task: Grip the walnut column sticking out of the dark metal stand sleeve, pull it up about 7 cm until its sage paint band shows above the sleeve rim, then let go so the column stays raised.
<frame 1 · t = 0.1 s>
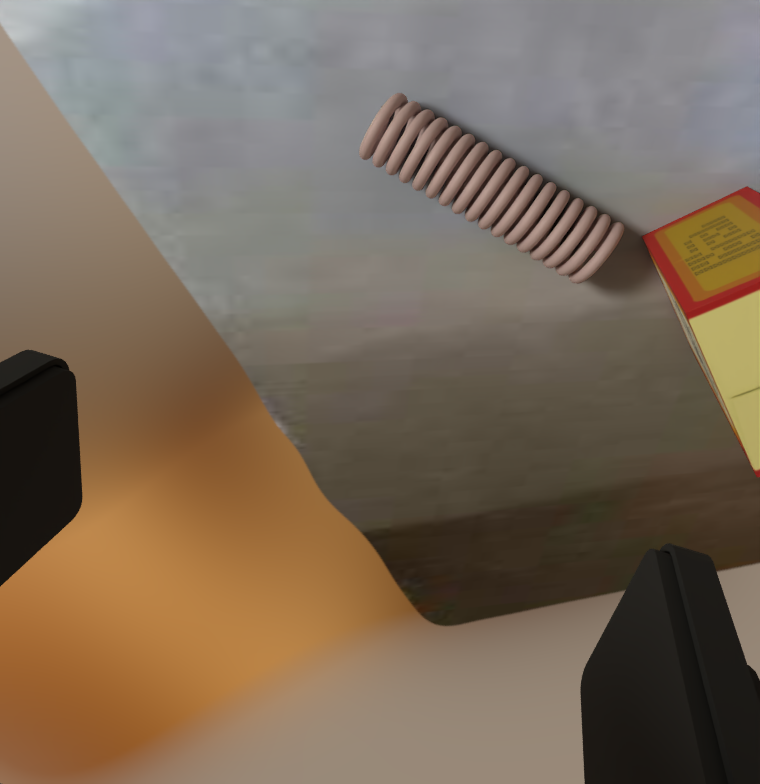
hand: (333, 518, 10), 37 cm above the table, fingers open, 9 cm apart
coil: (492, 184, 43), on the table
baking soda box: (718, 275, 42), on the table
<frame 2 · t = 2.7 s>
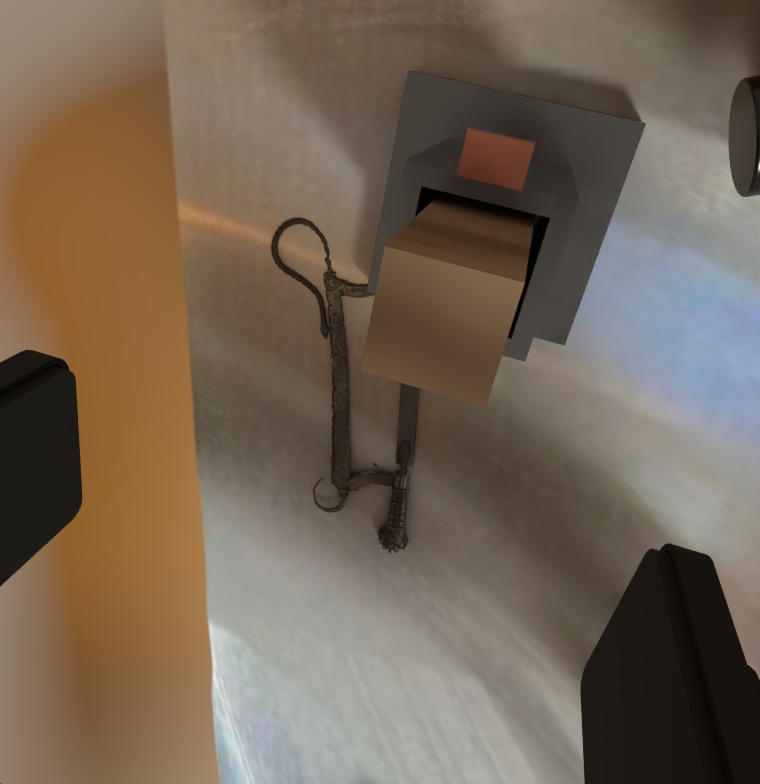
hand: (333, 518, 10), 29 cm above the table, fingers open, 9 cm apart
column: (471, 257, 26), point 11 cm above the table, slide at 0.0 cm
stand sleeve: (493, 211, 35), on the table
hacksaw: (348, 397, 43), on the table, touching stand sleeve
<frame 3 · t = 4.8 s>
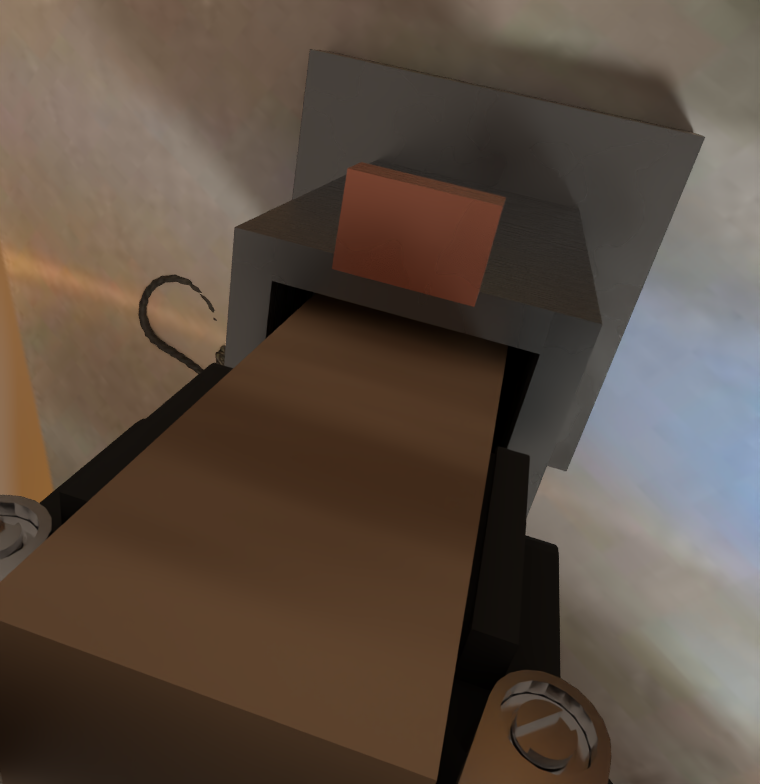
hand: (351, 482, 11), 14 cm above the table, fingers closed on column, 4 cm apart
column: (390, 403, 13), point 11 cm above the table, slide at 0.0 cm, touching gripper
stand sleeve: (456, 269, 23), on the table
hacksaw: (265, 513, 31), on the table
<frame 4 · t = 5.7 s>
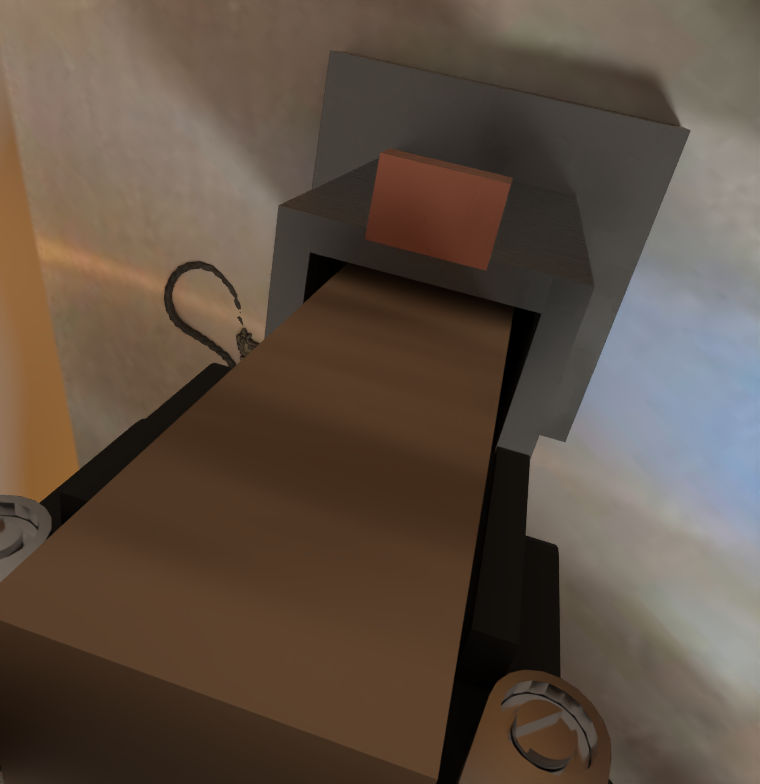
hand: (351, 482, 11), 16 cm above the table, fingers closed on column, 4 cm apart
column: (390, 402, 13), point 13 cm above the table, slide at 2.1 cm, touching gripper
stand sleeve: (463, 254, 25), on the table
hacksaw: (281, 489, 33), on the table
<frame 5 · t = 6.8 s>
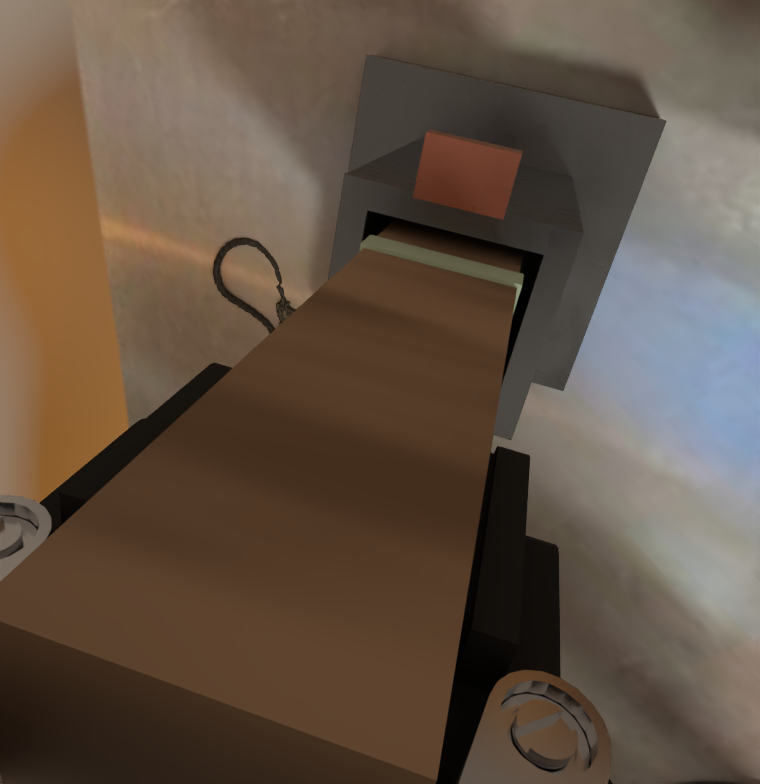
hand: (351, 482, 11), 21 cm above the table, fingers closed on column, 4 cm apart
column: (390, 402, 13), point 18 cm above the table, slide at 6.9 cm, touching gripper
stand sleeve: (476, 228, 29), on the table
hacksaw: (311, 443, 37), on the table, touching stand sleeve
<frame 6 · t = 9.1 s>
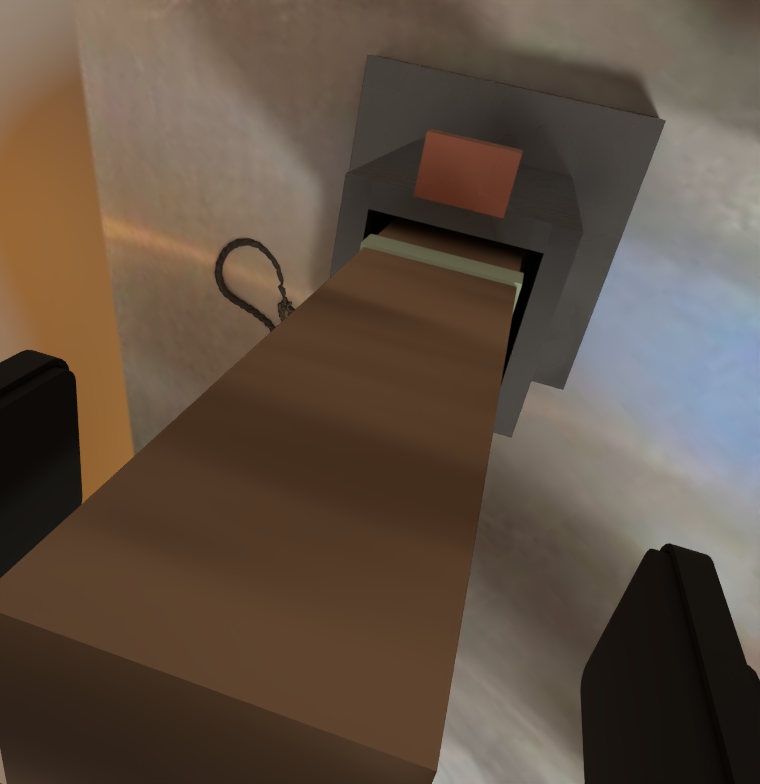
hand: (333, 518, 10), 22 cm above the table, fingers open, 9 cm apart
column: (390, 400, 14), point 18 cm above the table, slide at 6.9 cm
stand sleeve: (476, 228, 29), on the table
hacksaw: (313, 443, 37), on the table
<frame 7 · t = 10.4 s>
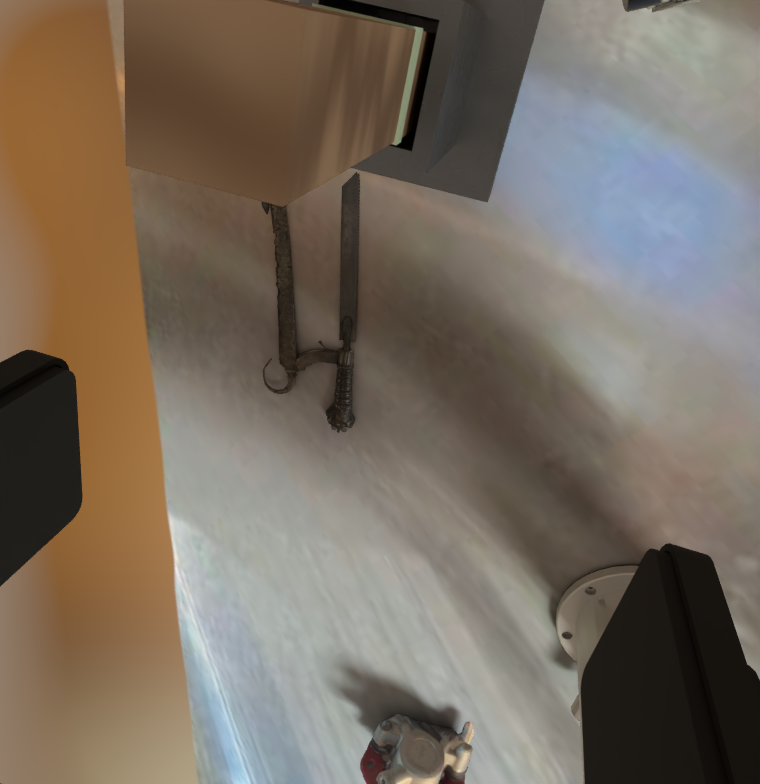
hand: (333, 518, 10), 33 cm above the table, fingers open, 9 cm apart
column: (326, 80, 21), point 18 cm above the table, slide at 6.9 cm
stand sleeve: (417, 69, 36), on the table
brake caliper: (421, 731, 66), on the table
hacksaw: (292, 275, 45), on the table
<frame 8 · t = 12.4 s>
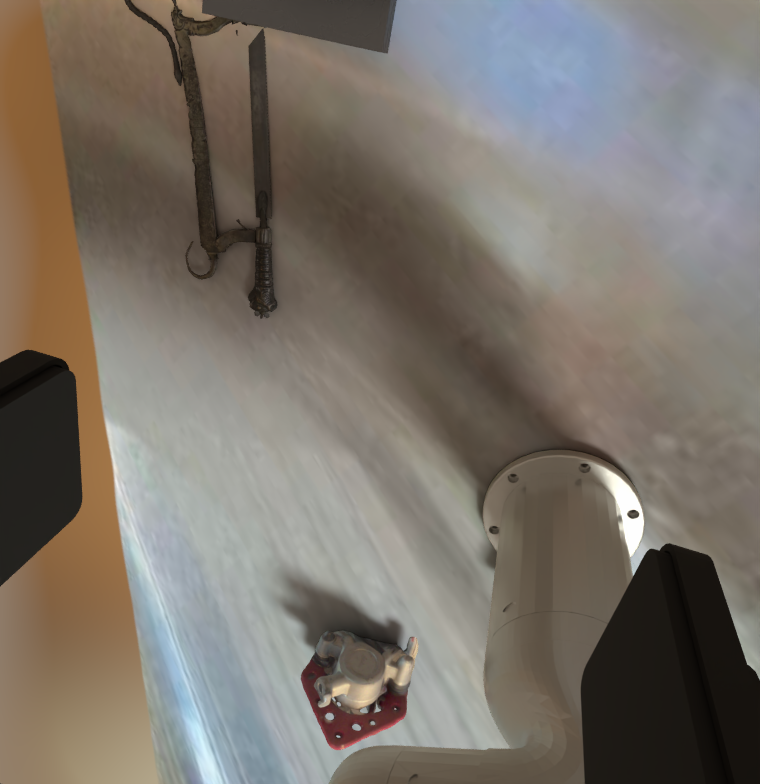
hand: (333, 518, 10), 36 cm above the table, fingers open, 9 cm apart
brake caliper: (367, 649, 65), on the table
hacksaw: (209, 152, 46), on the table
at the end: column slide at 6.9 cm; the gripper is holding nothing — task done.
